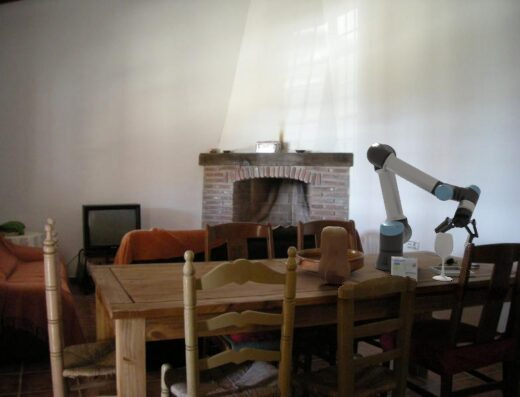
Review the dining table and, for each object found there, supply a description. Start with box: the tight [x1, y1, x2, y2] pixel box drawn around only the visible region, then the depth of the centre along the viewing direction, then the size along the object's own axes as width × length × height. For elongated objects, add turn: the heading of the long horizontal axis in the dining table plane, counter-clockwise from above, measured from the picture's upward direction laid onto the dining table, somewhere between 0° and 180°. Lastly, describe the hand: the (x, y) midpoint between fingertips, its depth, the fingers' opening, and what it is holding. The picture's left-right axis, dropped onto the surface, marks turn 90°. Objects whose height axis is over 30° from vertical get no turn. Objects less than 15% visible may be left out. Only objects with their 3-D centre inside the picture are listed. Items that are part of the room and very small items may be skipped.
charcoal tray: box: [427, 265, 476, 278], centre depth 239 cm, size 16×16×2 cm
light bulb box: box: [390, 256, 419, 282], centre depth 218 cm, size 11×7×11 cm, turn 84°
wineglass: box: [432, 232, 454, 282], centre depth 224 cm, size 9×9×21 cm
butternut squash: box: [317, 226, 351, 286], centre depth 209 cm, size 14×13×25 cm
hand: (450, 246), depth 226 cm, fingers open, 13 cm apart
